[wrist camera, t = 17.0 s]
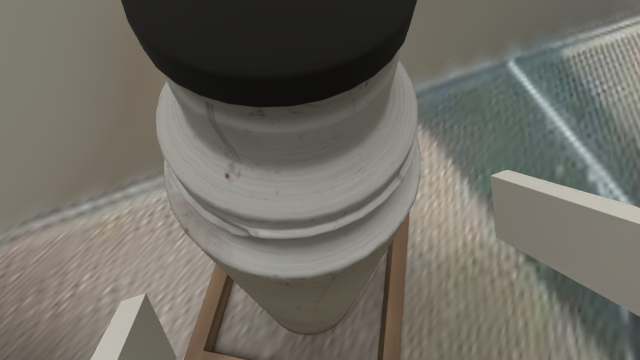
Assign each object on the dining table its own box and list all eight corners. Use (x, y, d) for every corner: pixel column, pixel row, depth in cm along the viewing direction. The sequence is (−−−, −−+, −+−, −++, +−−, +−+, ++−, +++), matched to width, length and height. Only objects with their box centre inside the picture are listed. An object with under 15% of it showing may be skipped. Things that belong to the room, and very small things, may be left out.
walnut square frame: (192, 364, 27) (182, 365, 25) (248, 191, 35) (243, 180, 32) (388, 408, 26) (395, 412, 24) (403, 218, 33) (409, 208, 31)
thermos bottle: (300, 227, 33) (251, -180, 8) (370, 276, 31) (594, -74, 6) (245, 296, 30) (-107, -19, 5) (318, 356, 28) (330, 325, 3)
